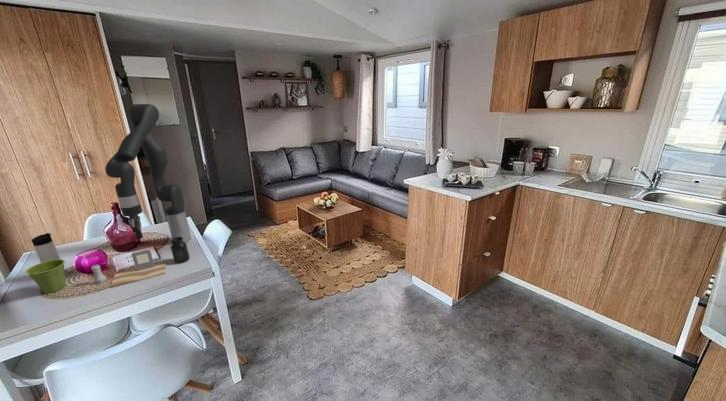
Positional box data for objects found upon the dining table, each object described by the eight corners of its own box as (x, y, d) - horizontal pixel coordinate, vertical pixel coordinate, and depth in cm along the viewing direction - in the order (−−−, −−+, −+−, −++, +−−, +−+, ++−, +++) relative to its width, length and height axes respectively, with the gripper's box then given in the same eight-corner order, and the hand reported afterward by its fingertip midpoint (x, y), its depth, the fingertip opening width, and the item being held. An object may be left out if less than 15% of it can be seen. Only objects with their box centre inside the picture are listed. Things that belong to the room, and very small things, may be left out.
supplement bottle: (193, 256, 153) (187, 235, 149) (184, 263, 146) (178, 242, 142) (180, 256, 153) (175, 235, 149) (171, 263, 147) (165, 241, 143)
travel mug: (69, 271, 143) (54, 233, 136) (52, 278, 137) (35, 240, 131) (61, 269, 145) (45, 232, 138) (44, 276, 139) (27, 238, 133)
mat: (115, 274, 139) (115, 273, 138) (166, 262, 148) (165, 261, 148) (110, 288, 129) (110, 286, 128) (164, 274, 138) (164, 272, 138)
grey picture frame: (137, 269, 141) (131, 252, 138) (154, 265, 145) (149, 248, 142) (136, 271, 140) (131, 254, 137) (154, 266, 143) (149, 250, 140)
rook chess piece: (99, 279, 136) (93, 263, 133) (109, 278, 136) (104, 263, 133) (91, 284, 132) (85, 269, 129) (102, 284, 132) (96, 268, 129)
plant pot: (40, 300, 122) (29, 276, 118) (32, 291, 128) (21, 269, 124) (77, 285, 131) (68, 263, 128) (68, 277, 137) (59, 256, 134)
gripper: (122, 202, 142) (132, 235, 147) (117, 210, 131) (128, 245, 136) (141, 199, 145) (150, 231, 151) (138, 206, 134) (148, 241, 140)
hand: (140, 238), depth 144 cm, fingers closed
